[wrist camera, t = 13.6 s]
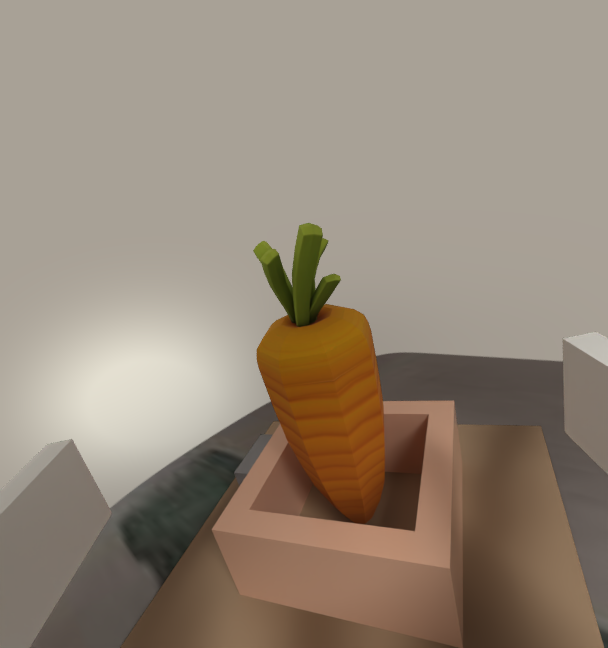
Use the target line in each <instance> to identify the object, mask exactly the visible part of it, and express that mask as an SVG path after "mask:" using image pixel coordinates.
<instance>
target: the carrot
mask: <svg viewBox="0 0 608 648" xmlns="http://www.w3.org/2000/svg"><path fill="white" fill-rule="evenodd" d="M322 236H323V234H322V228H320V227H319V226H317V225H314V224H311V223H307V224H303V225H300V226H299V230H298V235H297V240H296V245H295V252H294V261H293V270H292V284H293V288H292V285H291V283H290V281H289V279H288V277H287V275H286V273H285V271H284V269H283V266H282V263H281V260H280V256H279V253H278V252H277V251H276V250H275V249H272V248H271V247H270V246H269V244H268V243H267V242H265V241H262V242H261V243H259V244H258V245H257V246H256V247H255V249H254V250H253V251H254V253H255V255H256V256H257V258H258V259H259V261H260V262H261V263H262V267H263V270H264V273H265V275H266V277H267V280H268V282H269V285H270V287H271V288H272V290H273V292H274V293H275V295H276V296H277V298H278V299H279V301H280V302H281V304H282V305H283V307H284V309H285V310H286V312H287V314H288V315H287V316H285V317H283V318H281V319H278V320H276V321H275V322H274V323H273V324H272V325H271V326H270V328H269V330H268V331H267V333H266V334H265V336H264V337H263V339H262V341H261V343H260V345H259V346H258V348H257V362H258V367H259V370H260V372H261V375H262V378H263V380H264V383H265V386H266V388H267V391H268V394H269V397H270V399H271V402H272V405H273V407H274V410H275V412H276V415H277V417H278V420H279V422H280V424H281V427H282V429H283V432H284V434H285V437H286V439H287V441H288V443H289V444H290V446H291V448H292V450H293V451H294V453H295V455H296V457H297V458H298V460H299V462H300V464H301V465H302V467H303V468H304V470H305V471H306V473H307V475H308V476H309V478H310V479H311V481H312V482H313V484H314V486H315V487H316V488H317V489H318V490H319V491H320V492H321V493H322V494H323V495H324V496H325V498H326V499H327V500H328V501H329V502H330V503H331V504H332V505H333V506H334V507H336V508H337V509H338V510H339V511H340V512H341V513H342V514H343V515H345V516H346V517H347V518H349V519H350V520H351V521H353V522H354V523H356V524H366V523H367V522H368V521H369V520H370V519H371V518H372V517H373V515H374V513H375V510H376V508H377V506H378V504H379V502H380V498H381V494H382V490H383V486H384V481H385V437H384V405H383V398H382V392H381V385H380V378H379V372H378V366H377V360H376V355H375V349H374V344H373V339H372V333H371V329H370V326H369V323H368V321H367V319H366V317H365V316H364V315H363V314H362V313H360V312H358V311H356V310H354V309H350V308H345V307H339V306H334V305H329V304H325V303H326V301H327V300H328V298H329V297H330V296H331V294H332V293H333V291H334V290H335V288H336V286H337V285H338V283H339V282H340V280H341V279H340V276H338V275H336V274H331V275H328V276H326V277H323V278H322V280H321V281H320V283H319V285H318V287H317V288H316V289H315V275H316V270H317V266H318V263H319V260H320V257H321V255H322V254H323V252H324V250H325V248H326V246H327V244H328V240H326V239H324V238H322ZM324 304H325V305H324Z"/></svg>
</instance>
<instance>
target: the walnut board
mask: <svg viewBox="0 0 608 648" xmlns="http://www.w3.org/2000/svg"><path fill="white" fill-rule="evenodd" d="M279 425H280V422H279V421H273V423H272V424H271V426H270V427H269V429H268V430H267V432H266V433H265V434H270V435H273V434H274V432H275V431H276V429H277V428H278V426H279ZM457 425H458V424H457ZM458 433H459V441H460V448H461V456H462V519H463V648H604V646H603V642H602V639H601V635H600V631H599V628H598V624H597V621H596V617H595V614H594V610H593V607H592V603H591V600H590V596H589V593H588V589H587V586H586V582H585V579H584V575H583V572H582V568H581V565H580V561H579V558H578V554H577V551H576V547H575V544H574V540H573V537H572V533H571V530H570V526H569V523H568V519H567V516H566V512H565V509H564V505H563V502H562V498H561V495H560V491H559V488H558V484H557V481H556V477H555V474H554V470H553V467H552V463H551V460H550V456H549V453H548V449H547V446H546V442H545V439H544V435H543V432H542V428H541V426H517V425H458ZM421 477H422V474H414V473H399V472H385V481H384V486H383V490H382V494H381V498H380V502H379V504H378V506H377V508H376V510H375V513H374V515H373V517H372V518H371V519H370V520H369V521H368V522H367V523H366V524H363V525H371V526H379V527H386V528H394V529H402V530H409V531H415V527H416V519H417V511H418V502H419V494H420V485H421ZM238 488H239V484H238V482H237V479H236V477H235V479H234V480H233V482H232V483H231V485H230V486H229V488H228V489H227V491H226V492H225V494H224V495H223V497H222V498H221V499H220V501H219V502H218V504H217V505H216V507H215V508H214V510H213V511H212V513H211V514H210V516H209V517H208V519H207V520H206V522H205V523H204V525H203V526H202V528H201V529H200V531H199V532H198V533H197V535H196V536H195V538H194V539H193V541H192V542H191V544H190V545H189V547H188V548H187V550H186V551H185V553H184V554H183V556H182V557H181V559H180V560H179V562H178V563H177V564H176V566H175V567H174V569H173V570H172V572H171V573H170V575H169V576H168V578H167V579H166V581H165V582H164V584H163V585H162V587H161V588H160V590H159V591H158V593H157V594H156V595H155V597H154V598H153V600H152V601H151V603H150V604H149V606H148V607H147V609H146V610H145V612H144V613H143V615H142V616H141V618H140V619H139V621H138V622H137V624H136V625H135V626H134V628H133V629H132V631H131V632H130V634H129V635H128V637H127V638H126V640H125V641H124V643H123V644H122V646H121V647H120V648H459V647H455V646H451V645H447V644H442V643H438V642H434V641H430V640H426V639H422V638H418V637H413V636H409V635H405V634H401V633H397V632H393V631H389V630H384V629H380V628H376V627H372V626H368V625H364V624H360V623H355V622H351V621H347V620H343V619H339V618H335V617H331V616H326V615H322V614H318V613H314V612H310V611H306V610H302V609H297V608H293V607H289V606H285V605H281V604H277V603H273V602H268V601H264V600H260V599H256V598H252V597H248V596H244V595H240V594H239V592H238V589H237V587H236V585H235V582H234V580H233V578H232V576H231V573H230V571H229V569H228V566H227V564H226V562H225V560H224V557H223V555H222V553H221V550H220V548H219V546H218V543H217V541H216V539H215V537H214V534H213V532H212V528H213V527H214V525H215V524H216V522H217V520H218V519H219V517H220V516H221V514H222V513H223V511H224V510H225V508H226V507H227V505H228V503H229V502H230V500H231V499H232V497H233V496H234V494H235V493H236V491H237V490H238ZM299 516H302V517H309V518H317V519H325V520H332V521H340V522H348V523H354V522H353V521H351V520H350V519H349V518H347V517H346V516H345V515H343V514H342V513H341V512H340V511H339V510H338V509H337V508H336V507H334V506H333V505H332V504H331V503H330V502H329V501H328V500H327V499H326V498H325V496H324V495H323V494H322V493H321V492H320V491H319V490H318V489H317V488H316V487H315V486H314V484H313V485H312V488H311V490H310V492H309V495H308V497H307V499H306V501H305V504H304V506H303V508H302V511H301V513H300V515H299Z"/></svg>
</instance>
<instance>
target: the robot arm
mask: <svg viewBox="0 0 608 648" xmlns="http://www.w3.org/2000/svg"><path fill="white" fill-rule="evenodd" d="M563 379H564V427H565V433H566V434H567V435H568V436H569V437H570V438H571V439H572V440H573V441H574V442H575V443H576V444H577V445H578V446H579V447H580V448H581V449H582V450H583V451H584V452H585V453H586V454H587V455H589V456H590V457H591V458H592V459H593V460H594V461H595V462H596V463H597V464H598V465H599V466H600V467H601V468H602V469H603V470H604V471H605V472H606V473H607V474H608V338H607V337H605V336H603V335H601V334H599V333H597V332H592V333H587V334H582V335H577V336H572V337H567V338H563ZM111 514H112V512H111V510H110V508H109V507H108V505H107V503H106V501H105V499H104V498H103V496H102V494H101V492H100V490H99V488H98V486H97V484H96V483H95V481H94V479H93V477H92V475H91V473H90V471H89V470H88V468H87V466H86V464H85V462H84V460H83V458H82V457H81V455H80V453H79V451H78V450H77V447H76V446H75V444H74V442H73V440H72V439H70V440H65V441H60V442H56V443H51V444H47V445H46V446H45V447H44V448H43V449H42V450H41V451H40V452H39V453H38V454H37V455H36V456H35V457H34V458H33V459H32V460H31V461H30V462H29V463H28V464H27V465H25V466H24V467H23V468H22V469H21V470H20V471H19V473H17V474H16V475H15V476H14V477H13V478H12V479H11V480H10V481H9V482H8V483H7V484H6V485H5V486H4V487H3V488H2V489H1V490H0V648H30V647H31V645H32V643H33V642H34V640H35V638H36V637H37V635H38V633H39V632H40V630H41V629H42V627H43V625H44V624H45V622H46V620H47V619H48V617H49V616H50V614H51V612H52V611H53V609H54V607H55V606H56V604H57V603H58V601H59V599H60V598H61V596H62V594H63V593H64V591H65V589H66V588H67V586H68V585H69V583H70V581H71V580H72V578H73V576H74V575H75V573H76V572H77V570H78V568H79V567H80V565H81V563H82V562H83V560H84V558H85V557H86V555H87V554H88V552H89V550H90V549H91V547H92V545H93V544H94V542H95V541H96V539H97V537H98V536H99V534H100V532H101V531H102V529H103V528H104V526H105V524H106V523H107V521H108V519H109V518H110V516H111Z"/></svg>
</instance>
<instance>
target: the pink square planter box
mask: <svg viewBox="0 0 608 648" xmlns="http://www.w3.org/2000/svg"><path fill="white" fill-rule="evenodd" d="M383 405H384V437H385V472H399V473H414V474H422V477H421V485H420V494H419V502H418V511H417V519H416V527H415V531H409V530H402V529H394V528H386V527H379V526H371V525H363V524H356V523H348V522H340V521H332V520H325V519H317V518H309V517H302V516H299V515H300V513H301V511H302V508H303V506H304V504H305V501H306V499H307V497H308V495H309V492H310V490H311V488H312V485H313V482H312V481H311V479H310V478H309V476H308V475H307V473H306V471H305V470H304V468H303V467H302V465H301V464H300V462H299V460H298V458H297V457H296V455H295V453H294V451H293V450H292V448H291V446H290V444H289V443H288V441H287V439H286V437H285V434H284V432H283V429H282V427H281V424H280V425H279V426H278V428H277V429H276V431H275V432H274V434H273V435H270V434H261V435H260V436H259V437H258V439H257V440H256V442H255V443H254V445H253V446H252V448H251V449H250V450H249V452H248V453H247V455H246V456H245V458H244V459H243V461H242V462H241V463H240V465H239V466H238V468H237V469H236V471H235V472H234V474H235V477H236V479H237V482H238V484H239V488H238V490H237V491H236V493H235V494H234V496H233V497H232V499H231V500H230V502H229V503H228V505H227V507H226V508H225V510H224V511H223V513H222V514H221V516H220V517H219V519H218V520H217V522H216V524H215V525H214V527H213V528H212V532H213V534H214V537H215V539H216V541H217V543H218V546H219V548H220V550H221V553H222V555H223V557H224V560H225V562H226V564H227V566H228V569H229V571H230V573H231V576H232V578H233V580H234V582H235V585H236V587H237V589H238V592H239V594H240V595H244V596H248V597H252V598H256V599H260V600H264V601H268V602H273V603H277V604H281V605H285V606H289V607H293V608H297V609H302V610H306V611H310V612H314V613H318V614H322V615H326V616H331V617H335V618H339V619H343V620H347V621H351V622H355V623H360V624H364V625H368V626H372V627H376V628H380V629H384V630H389V631H393V632H397V633H401V634H405V635H409V636H413V637H418V638H422V639H426V640H430V641H434V642H438V643H442V644H447V645H451V646H455V647H459V648H463V519H462V456H461V448H460V441H459V433H458V425H457V418H456V410H455V403H454V401H383Z"/></svg>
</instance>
